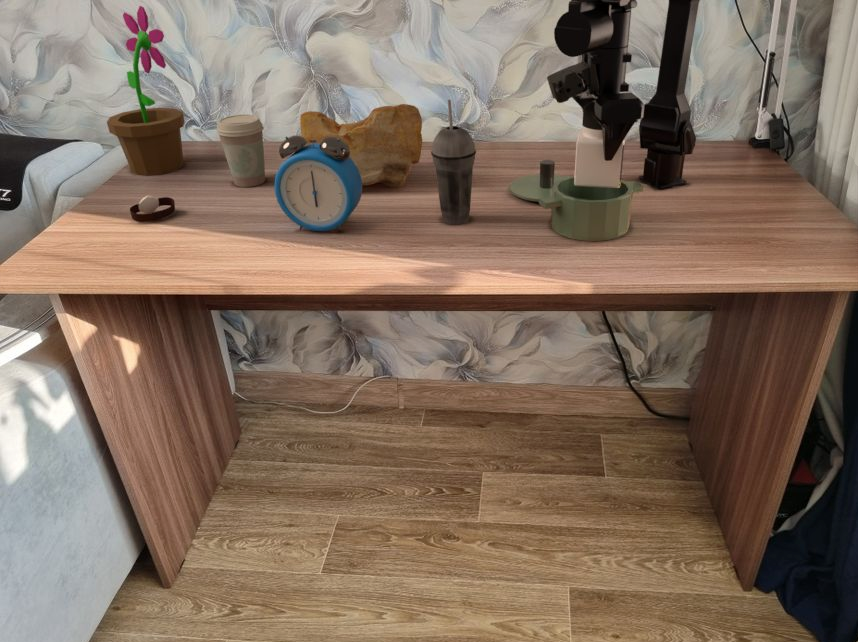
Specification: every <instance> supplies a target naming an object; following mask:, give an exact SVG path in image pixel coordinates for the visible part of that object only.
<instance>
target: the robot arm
mask: <svg viewBox="0 0 858 642" xmlns="http://www.w3.org/2000/svg"><path fill="white" fill-rule="evenodd" d="M700 2H701V0H668V6H667V12H666V19H665V26H664V32H663V33H664V35H663V41H662V48H661V55H660V61H659V62H660V63H659V69H658V75H657V82H656V91H655V93H654V95H653V96H652V97H651V98H650V99H649V101H648V102H647V103H644V102H643V101H642V100H641V98H639V97H638V96H637V95H635V94H634V93H633V92H629V89H630V84H629V83H628V82H627V81H626V73H627V65H628V64H627V63H632V60H633V59H632V58H633V54H632V53H630V52H629V39H630V28H631V20H632V19H631V17H632V9H634V8H637V7H638V1H637V0H569V2H568V5H567V6H568V8H567V9H568V10H567V11H566V12H564V13H563V14H562V15H561V16H560V17H559V19H558V20H557V22H556V25H555V27H554V30H553V35H554V37H553V38H554V41H555V45H556V46H557V48H558V50H559V51H560V52H561V53H562V54H563V55H564V56H567V57H569V58H575V57H579V56H581V60H580V62H578V63H575V64H572V65H569V66H567V67H565V68H562V69H560V70H558V71H555V72H553V73H551V74H549V75H548V76H546V80H547V83H548V86H549V90H550V92H551V96H552V98H553V99H555V101H556V103H558V104H563V103H566V102H568V101H569V100H570V99H572V100H573V101H575V102H576V103H577V104H578V105H579V107H580V108H581V110H582V111H583V107H584V106H585V105H586V104H587V103H590V102H592V101H595V108H594V109H595V115H596V116H593V117H594V118H595V119H596V121H597V122H598V123H599V124H600V125H601V126H602V135H603V150H604V159H605V161H611V160H612V159H613V157H614V156H615V154H616V152H617V151H618V149H619V147H620V145H621V144H622V142H623V140H624V139H625V140H626V138H627V135H628V134H629V133H630V131H631V129H632V128H633V126H634V125H635V123H638V121H639V120H640V121H639V127H638V132H639V133H638V134H639V148H640V149H643V150H644V149H645V150H647V152H646V157H645V158H644V163H643V171H642V172H643V173H642V175H639V178H638V179H639V180H640V181H642V182H644V183H646V184H648V185H649V186H651V187H653V188H655V189H658V190H662V189H666V188H667V189H668V188H672V187H677V186H684V185H687V183H688V180H686V179H683V172H684V166H685V159H686V158H685V157H686V155H692V154H693V152H694V149H695V148H696V147H695V146H696V141H697V136H696V134H695V131H694V128H693V125H692V122H691V115H692V108H691V106H690V104H689V101H688V99H687V97H686V94H685V91H686V87H687V86H686V85H687V80H688V79H687V78H688V74H689V67H690V61H691V53H692V48H693V42H694V35H695V30H696V29H695V28H696V23H697V18H698V17H697V16H698V12H699V11H698V10H699V4H700Z"/></svg>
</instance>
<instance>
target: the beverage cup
mask: <svg viewBox="0 0 858 642" xmlns="http://www.w3.org/2000/svg"><path fill="white" fill-rule="evenodd" d="M447 110H448V123H449V126H445V127H444V128H442V129H441V130H440V131H439V132H437V134H436V135H435V137H434V139H433V142H432V146H431V152H430V155H431V157H432V163H433V166H434V169H435V176H436V184H437V192H438V193H437V194H438V200H439V207H440V208H439V209H440V213H441V217H442V219H441V220H442V222H443V223H444V224H447V225H453V226H455V225H463V224H465V223H468V222H469V220H470V212H471V203H472V201H471V200H472V188H473V187H472V186H473V172H474V165H475V159H476V154H477V150H476V146H475V141H474V139H473V137H472V136H471V134H470V133H469V132H468V131H467V130H466V129H465V128H463V127H461V126H458V125H453V124H454V123H453V111H452V99H447Z"/></svg>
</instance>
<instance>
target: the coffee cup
mask: <svg viewBox="0 0 858 642" xmlns="http://www.w3.org/2000/svg"><path fill="white" fill-rule="evenodd" d="M264 129H265V128H264V126H263V123H262V121H261V120H260V117H259V116H258V115H254V114H248V113H247V114H244V113H243V114H233V115H228V116H224V117H221V118H219V119H218V120H217V127H216V134H217V135H218V136H219V140H220V143H221V145H222V149H223V152H224V155H225V159H226V161H227V165H228V167H229V171H230V174H231V177H232V180H233V183H234V185H235V186H236V187H240V188H253V187H256V186H261V185H262V184H264V183H265V182H266V172H265V153H264V136H263V135H264V134H263V130H264Z"/></svg>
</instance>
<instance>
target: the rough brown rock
mask: <svg viewBox="0 0 858 642" xmlns="http://www.w3.org/2000/svg"><path fill="white" fill-rule="evenodd" d="M299 117H300V118H299V122H300V132H301V136H302V137H304V138H305V139H306V140H307V142H308V143H307V144H306V145H309V144H314V143H320V142H321V141H322V140H323V139H324V138H326V137H329V136H335V137H338V138H340V139H342V140H343V141H345V142H346V144H347V145H348V147H349V150H350V155H349V157H350V158H351V160H352V161H353V162H354V163H355V165H356V167H357V168H358V171H359V173H360V176H361V180H362V186H370V185H373V184H376V183H381V184H384V185H386V186H388V187H392V188H401V187H402V186H404V185H405V184H406V181H407V178H408V175H409V173H410V169H411V168H410V167H412V166H414V165H416V164H418V163H420V161H421V155H422V149H423V135H422V128H423V117H422V115H421V113H420V110H419V108H418V107H416V106H415V105H412V104H407V103H402V104H398V105H384V106H378V107H375V108H373V109H372V110H371V111H370V113H369V115H368V116H367V117H364V119H361V120H359V121H357V122H352V123H341V124H340V123H338V122H337V121H336V120H334V119H332V118H330V117H328V116H327V115H325V113H323V112H321V111H313V110H311V111H310V110H309V111H305V112H303V113H301V114H300V116H299ZM309 140H316V142H309ZM306 145H305V146H306Z"/></svg>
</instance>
